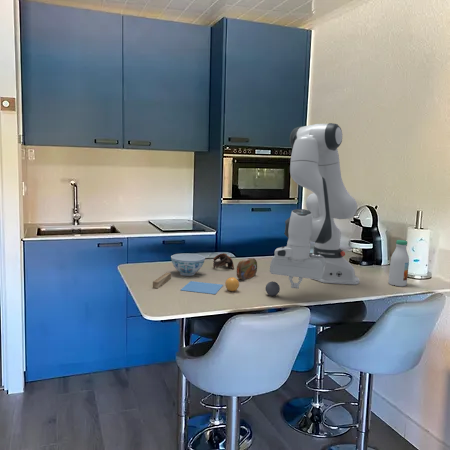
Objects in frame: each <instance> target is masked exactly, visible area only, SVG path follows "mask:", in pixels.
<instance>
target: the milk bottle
mask: <svg viewBox="0 0 450 450" xmlns="http://www.w3.org/2000/svg"><path fill="white" fill-rule="evenodd" d="M395 246H396V247H395V249H394V251H393V253H392V254H391V258H390V264H389V270H388V271H389V272H388V284H389V285H391V286H394V285H395V287H406V286H407V283H408V275H409V265H410V258H409V257H410V256H409V254H408V251H407V246H408V240H403V239H397V240H396V241H395Z"/></svg>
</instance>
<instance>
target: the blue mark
mask: <svg viewBox="0 0 450 450" xmlns="http://www.w3.org/2000/svg"><path fill="white" fill-rule="evenodd" d="M223 286H224V284H219V283H211V282H201V281H192V280H190V281H189V282H188V283H187V284H185V285H184V286H183V287H181V288H180V291H181V292H182V291H183V292H192V293H198V294H199V293H200V294H209V295H216V294H217V293H218V292H219V291H220V289H222V287H223Z"/></svg>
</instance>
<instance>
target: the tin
mask: <svg viewBox="0 0 450 450" xmlns="http://www.w3.org/2000/svg"><path fill="white" fill-rule="evenodd" d="M257 271H258V262H257V260H256V258H251V257H250V258H245V259H243V260H240V261H239V262H238V264H237V265H236V277H237V278H238V279H239V280H241V281H247V280H249V279H251V278H253V277H255V276H256V274H257ZM238 279H237V280H238Z"/></svg>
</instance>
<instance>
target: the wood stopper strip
mask: <svg viewBox="0 0 450 450" xmlns="http://www.w3.org/2000/svg"><path fill="white" fill-rule="evenodd" d="M171 279H172V272H166V273H165V272H164V274H162V275H160V276H159V277H158V278H157V279H155V280H153V281H152V288H153V289H159V288H160V287H162V286H163V285H164V284H166V283H168V281H170V280H171Z"/></svg>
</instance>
